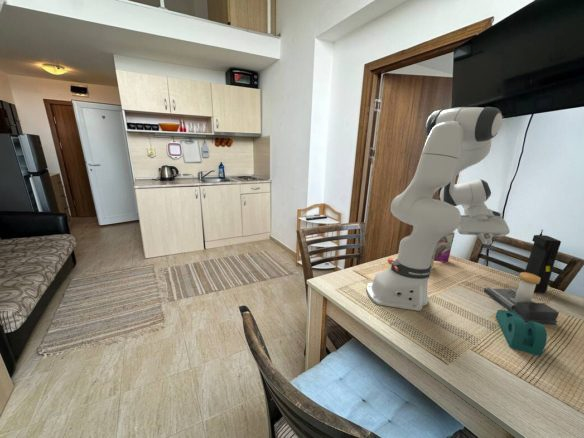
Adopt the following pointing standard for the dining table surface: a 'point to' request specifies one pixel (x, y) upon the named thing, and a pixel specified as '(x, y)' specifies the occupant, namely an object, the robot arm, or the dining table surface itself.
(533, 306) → the mount
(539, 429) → the dining table surface
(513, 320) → the bracket
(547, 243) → the portable radio
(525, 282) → the knob
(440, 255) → the wafer cookie box
